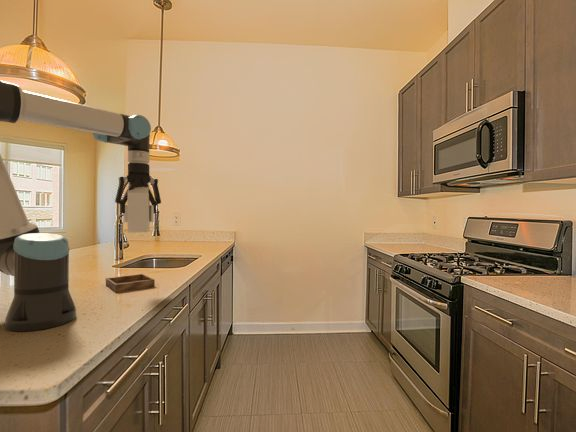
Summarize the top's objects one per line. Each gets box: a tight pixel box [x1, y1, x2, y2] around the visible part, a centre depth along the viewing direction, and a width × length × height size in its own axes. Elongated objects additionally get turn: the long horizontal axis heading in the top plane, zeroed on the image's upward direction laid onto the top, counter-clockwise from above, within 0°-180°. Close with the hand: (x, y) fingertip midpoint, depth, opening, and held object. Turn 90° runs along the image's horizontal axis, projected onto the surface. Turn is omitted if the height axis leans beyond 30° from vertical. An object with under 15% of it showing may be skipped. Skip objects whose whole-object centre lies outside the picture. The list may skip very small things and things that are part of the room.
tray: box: [105, 273, 156, 293], centre depth 126 cm, size 14×14×3 cm
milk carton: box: [126, 182, 151, 234], centre depth 123 cm, size 7×7×19 cm
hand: (138, 221), depth 123 cm, fingers closed on milk carton, 9 cm apart
